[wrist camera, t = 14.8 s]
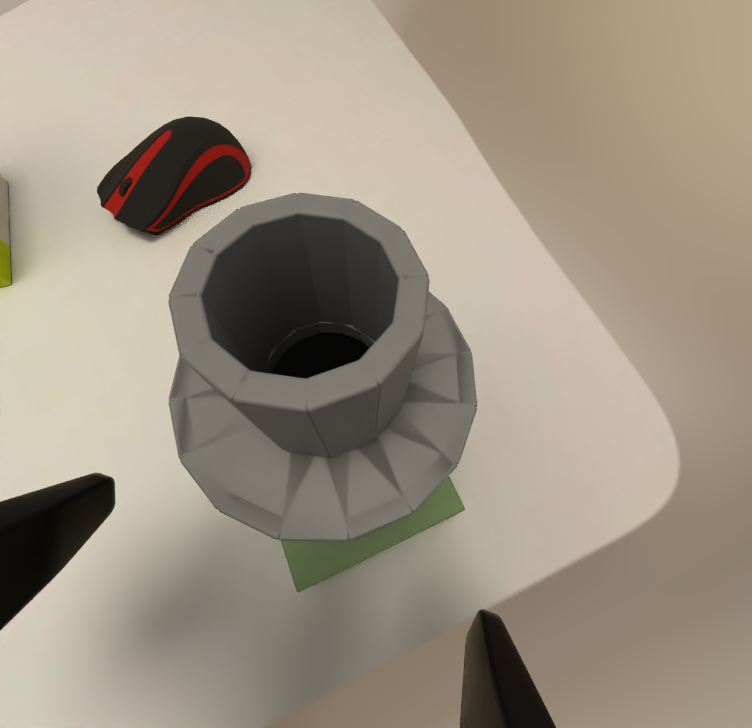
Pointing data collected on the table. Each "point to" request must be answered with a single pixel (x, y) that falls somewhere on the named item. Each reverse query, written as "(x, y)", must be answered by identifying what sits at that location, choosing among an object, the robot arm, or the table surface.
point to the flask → (315, 370)
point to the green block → (366, 540)
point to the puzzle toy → (4, 235)
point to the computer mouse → (174, 174)
